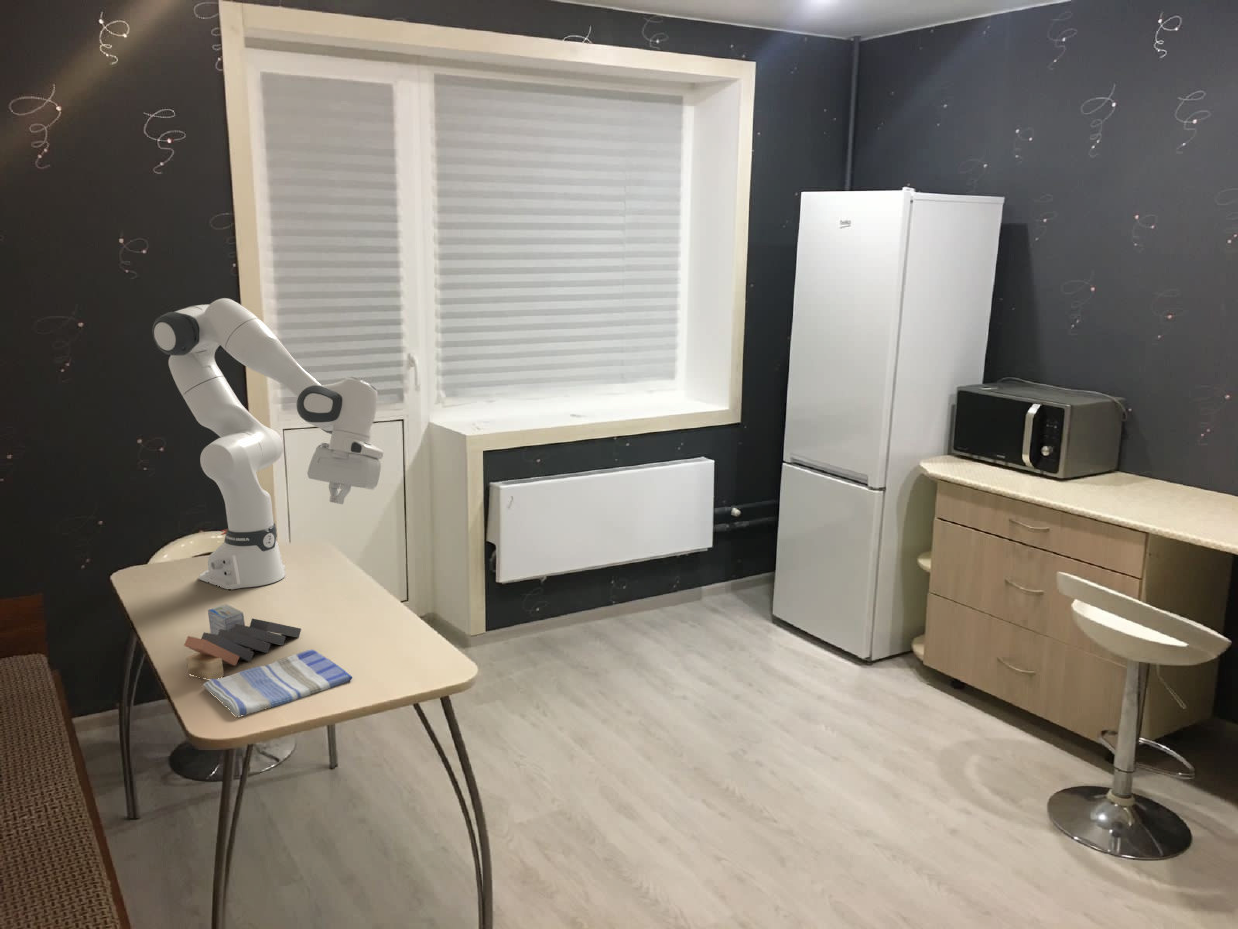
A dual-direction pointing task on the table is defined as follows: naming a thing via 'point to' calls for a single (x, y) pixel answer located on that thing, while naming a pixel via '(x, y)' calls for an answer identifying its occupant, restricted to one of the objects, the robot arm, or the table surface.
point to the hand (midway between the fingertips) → (336, 503)
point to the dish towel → (277, 682)
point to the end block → (205, 666)
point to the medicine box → (224, 618)
